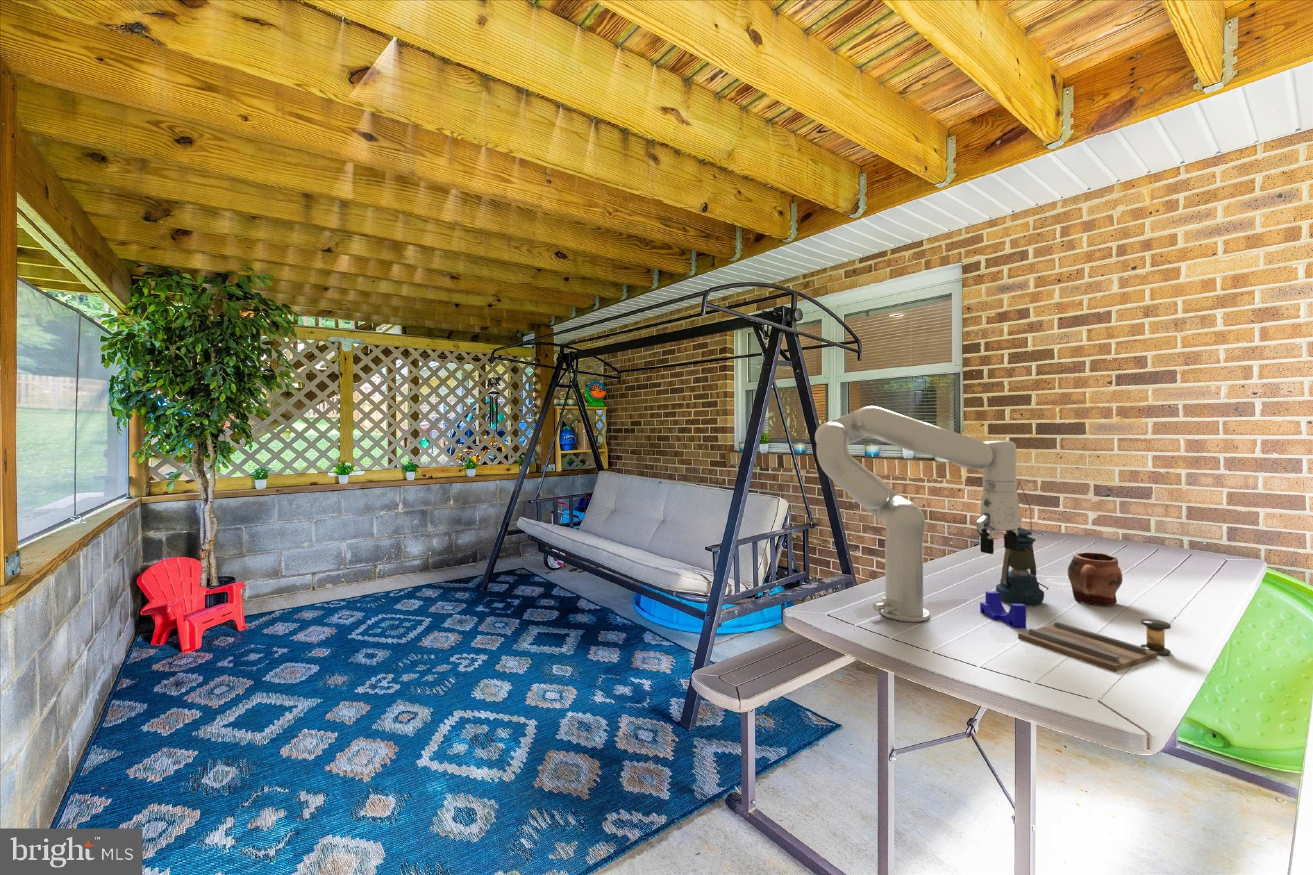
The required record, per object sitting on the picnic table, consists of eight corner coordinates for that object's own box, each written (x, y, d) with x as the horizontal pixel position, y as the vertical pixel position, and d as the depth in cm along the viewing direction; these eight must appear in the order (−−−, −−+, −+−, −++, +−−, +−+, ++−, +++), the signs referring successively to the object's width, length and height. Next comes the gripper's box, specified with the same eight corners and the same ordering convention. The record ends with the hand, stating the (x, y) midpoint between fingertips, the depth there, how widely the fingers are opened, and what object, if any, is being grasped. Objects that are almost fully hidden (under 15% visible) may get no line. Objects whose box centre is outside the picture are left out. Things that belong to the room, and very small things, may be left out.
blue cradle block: (980, 612, 149) (980, 591, 149) (996, 612, 149) (996, 591, 149) (1008, 629, 137) (1008, 605, 137) (1026, 628, 137) (1026, 605, 137)
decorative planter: (1115, 617, 144) (1115, 565, 144) (1059, 606, 153) (1059, 557, 153) (1127, 600, 157) (1127, 553, 157) (1075, 591, 166) (1075, 546, 166)
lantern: (1024, 610, 151) (1024, 485, 150) (984, 598, 162) (983, 481, 161) (1056, 602, 156) (1055, 482, 156) (1015, 591, 167) (1014, 479, 167)
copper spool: (1163, 657, 119) (1163, 627, 119) (1135, 649, 124) (1135, 620, 124) (1175, 653, 121) (1175, 624, 121) (1147, 645, 126) (1147, 617, 126)
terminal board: (1115, 671, 113) (1115, 661, 112) (1018, 638, 131) (1018, 629, 131) (1156, 657, 119) (1156, 647, 119) (1058, 627, 137) (1058, 619, 137)
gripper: (991, 490, 136) (991, 557, 136) (1034, 486, 143) (1033, 550, 144) (964, 487, 143) (964, 551, 143) (1005, 484, 150) (1005, 545, 150)
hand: (999, 551), depth 143 cm, fingers open, 9 cm apart
